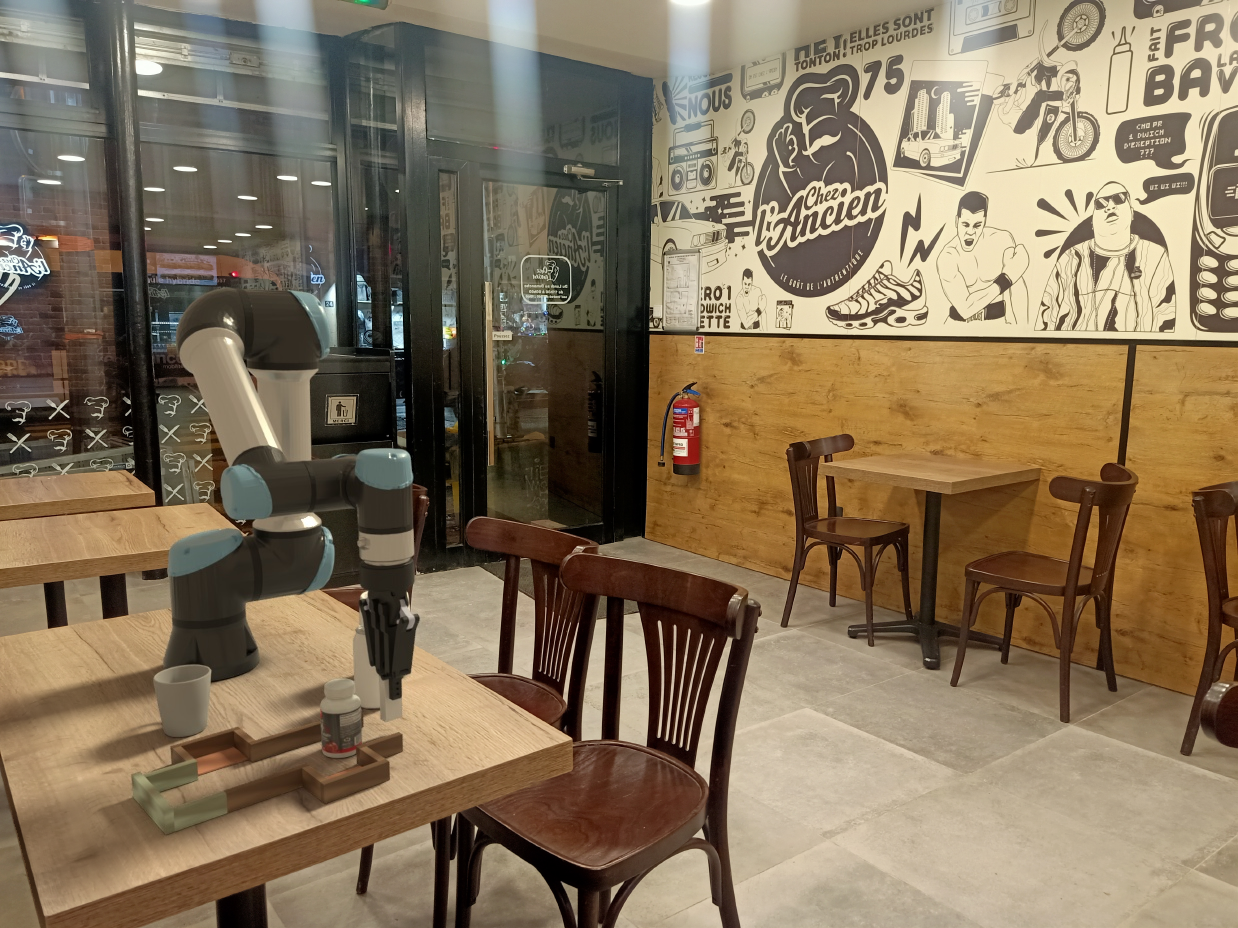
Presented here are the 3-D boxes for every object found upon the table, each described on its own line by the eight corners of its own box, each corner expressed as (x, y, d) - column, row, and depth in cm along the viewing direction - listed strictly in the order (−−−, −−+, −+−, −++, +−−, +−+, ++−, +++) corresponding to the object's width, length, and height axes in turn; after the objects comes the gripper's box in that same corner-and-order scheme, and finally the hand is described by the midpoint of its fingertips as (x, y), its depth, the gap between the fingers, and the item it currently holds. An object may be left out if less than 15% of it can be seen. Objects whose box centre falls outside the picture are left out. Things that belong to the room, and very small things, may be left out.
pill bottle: (314, 751, 126) (311, 683, 124) (347, 738, 130) (345, 673, 128) (336, 763, 122) (333, 693, 121) (370, 749, 126) (367, 682, 125)
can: (386, 711, 139) (383, 636, 137) (347, 707, 140) (344, 633, 138) (404, 695, 145) (402, 623, 143) (367, 692, 146) (364, 620, 145)
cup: (158, 745, 127) (154, 687, 126) (154, 719, 136) (150, 664, 134) (217, 733, 131) (214, 677, 130) (209, 709, 139) (206, 656, 138)
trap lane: (118, 779, 117) (116, 757, 117) (340, 712, 138) (340, 693, 138) (184, 856, 100) (182, 830, 100) (426, 765, 121) (426, 744, 121)
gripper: (339, 555, 130) (345, 711, 133) (386, 572, 120) (391, 740, 124) (386, 546, 135) (391, 697, 138) (435, 562, 126) (438, 724, 129)
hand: (391, 717), depth 131 cm, fingers closed
